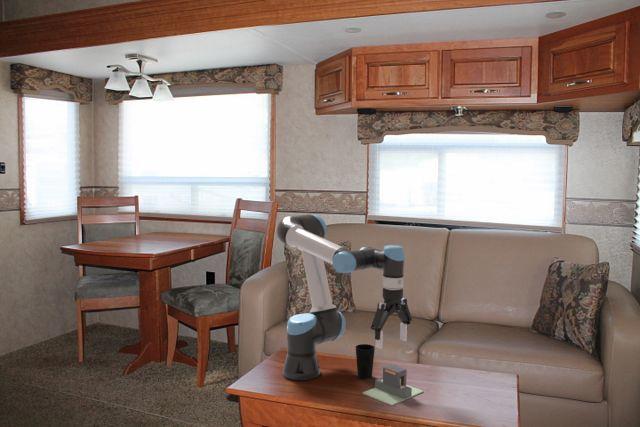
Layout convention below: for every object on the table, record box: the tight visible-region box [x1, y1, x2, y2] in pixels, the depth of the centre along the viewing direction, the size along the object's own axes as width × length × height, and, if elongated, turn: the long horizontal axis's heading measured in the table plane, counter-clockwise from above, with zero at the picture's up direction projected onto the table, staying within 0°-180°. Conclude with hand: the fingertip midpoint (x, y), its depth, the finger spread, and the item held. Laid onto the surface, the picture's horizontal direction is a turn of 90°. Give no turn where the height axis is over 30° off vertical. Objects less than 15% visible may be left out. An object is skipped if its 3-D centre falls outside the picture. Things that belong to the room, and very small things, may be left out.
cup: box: [354, 343, 376, 380], centre depth 216 cm, size 8×8×12 cm
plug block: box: [382, 364, 408, 389], centre depth 199 cm, size 7×5×6 cm
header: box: [362, 376, 424, 406], centre depth 200 cm, size 14×18×6 cm
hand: (391, 344), depth 201 cm, fingers open, 13 cm apart
